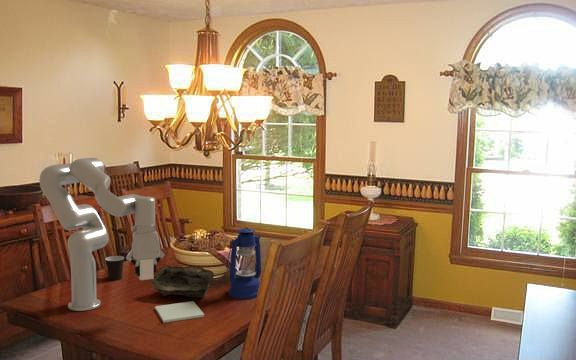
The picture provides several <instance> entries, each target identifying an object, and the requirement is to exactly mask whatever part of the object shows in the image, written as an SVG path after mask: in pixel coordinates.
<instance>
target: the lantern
mask: <svg viewBox="0 0 576 360" xmlns="http://www.w3.org/2000/svg"><path fill="white" fill-rule="evenodd" d="M236 231H237V232H238V235H237V238H235V239H234V240H233V239H232V240H231V241H230V249H229V252H228V257H227V263H226V266H228V265H229V260H230V265H229V267H230V268H229V267H226V269H227V270H226V271H227V272H228V273H229V282H230V288H229V289H228V295H229V297H231V298H234V299H238V300H239V299H240V300H251V299H256V297H257V293H258V288H259V284H260V285H261V281H260V279H259V278H260V277H261V275H262V262H261V261H262V260H261V257H262V256H261V243H260V239H261V235H255V234H254V233H255V232H256V230H255V229H253V228H250V227H244V228H239V229H237V230H236ZM237 249H238V250H237ZM250 256H251V258H250ZM254 256H255V263H254V266H253V267H252V268H251V269H248V267H249V265H250V264H251V262H252V261H253V257H254ZM239 257H246V258H247V257H248V259H249V260H250V261H247V262H245V264H247V263H248V264H247V266H246V267H244V268H241V269H239V270H237V268H238V266H237V267H236V261H237V258H239ZM228 268H229V269H228ZM253 269H254V270H253ZM257 298H258V297H257Z"/></svg>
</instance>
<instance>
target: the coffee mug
mask: <svg viewBox="0 0 576 360" xmlns="http://www.w3.org/2000/svg"><path fill="white" fill-rule="evenodd" d="M124 263H125V257H124V256H121V255H114V256H113V255H112V256H107V257H106V258H105V266H106V267H105V268H106V274H107V280H108V281H113V282H116V281H121V280H122V279H123V275H124V274H123V271H124Z"/></svg>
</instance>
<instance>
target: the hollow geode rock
mask: <svg viewBox="0 0 576 360" xmlns="http://www.w3.org/2000/svg"><path fill="white" fill-rule="evenodd" d="M155 274H156V275H154V279H150V281H151V283H150V284H151V285H152V287H153V288H154V290H155V291H157V292H159V294H161V297H166V296H167V295H183V296H184V297H186V298H188V297H190V298H197V299H204V298H205V296H206V293H207V292H208V289H209V288H210V285H211V282H215V280H214V278H215V277H214V276H215V274H214V272H213V271H212V270H209V269H206V268H204V267H202V266H195V265H191V266H183V267H182V266H170V264H169V265H165V266H161V267H160V268H159V270H158V271H157V273H155Z"/></svg>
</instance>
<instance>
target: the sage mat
mask: <svg viewBox="0 0 576 360" xmlns="http://www.w3.org/2000/svg"><path fill="white" fill-rule="evenodd" d="M154 309H155V311H156V313H157V314H158V316H159V318H160V320H161V321H162V322H163V323H164V324H165V323H171V322H177V321H184V320H185V321H186V320H191V319H199V318H205V313H204V312H203V311H202V310H201V309H200V307H199V306H198V305H197V304H196V302H195V301H193V300H192V301H185V302H178V303H171V304H169V303H168V304H163V305H156V306H155V307H154Z"/></svg>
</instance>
